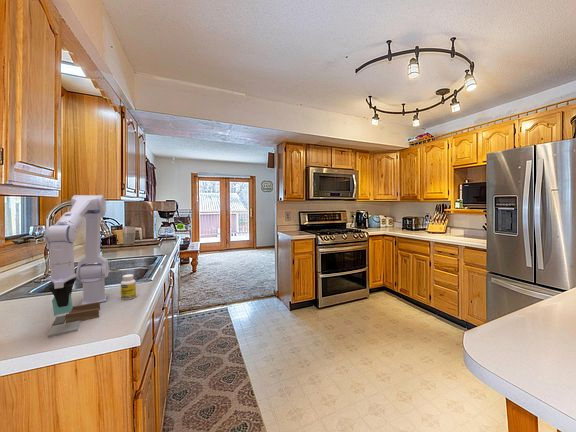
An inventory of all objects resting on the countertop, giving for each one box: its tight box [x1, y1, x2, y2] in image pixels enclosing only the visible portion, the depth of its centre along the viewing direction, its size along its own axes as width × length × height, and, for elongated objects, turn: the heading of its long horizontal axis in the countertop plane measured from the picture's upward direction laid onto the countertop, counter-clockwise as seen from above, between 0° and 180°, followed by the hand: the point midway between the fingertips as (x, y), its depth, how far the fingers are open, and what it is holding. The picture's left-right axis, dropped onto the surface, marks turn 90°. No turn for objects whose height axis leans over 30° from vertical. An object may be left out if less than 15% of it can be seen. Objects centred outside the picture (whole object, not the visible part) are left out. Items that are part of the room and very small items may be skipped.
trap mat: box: [51, 314, 66, 327], centre depth 87 cm, size 7×3×1 cm, turn 34°
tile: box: [47, 320, 81, 338], centre depth 81 cm, size 7×7×1 cm
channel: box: [64, 302, 101, 323], centre depth 91 cm, size 8×9×3 cm
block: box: [51, 293, 74, 316], centre depth 81 cm, size 4×4×5 cm
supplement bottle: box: [120, 273, 137, 301], centre depth 108 cm, size 5×5×10 cm
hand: (64, 303), depth 81 cm, fingers closed on block, 4 cm apart
